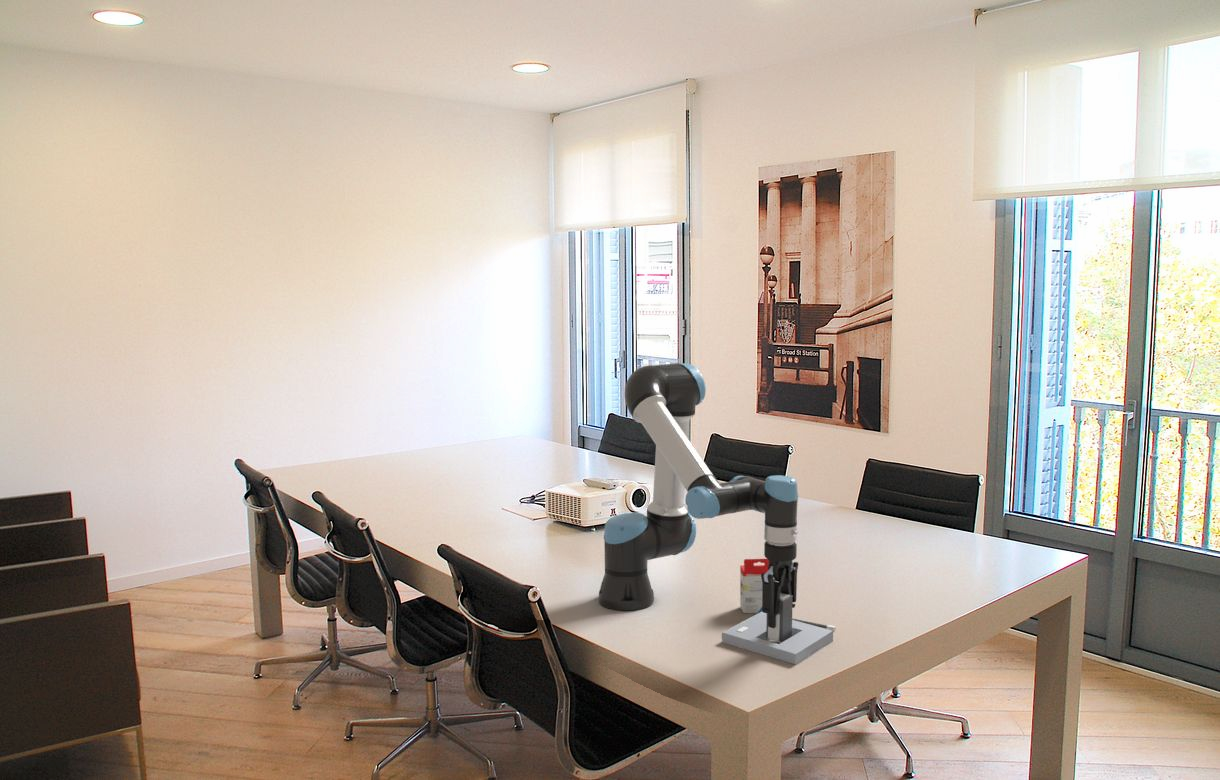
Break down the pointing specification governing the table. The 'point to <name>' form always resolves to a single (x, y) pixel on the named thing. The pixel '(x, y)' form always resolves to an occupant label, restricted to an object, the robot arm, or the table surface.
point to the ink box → (752, 585)
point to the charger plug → (784, 617)
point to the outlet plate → (791, 650)
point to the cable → (818, 625)
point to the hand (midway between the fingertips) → (779, 636)
